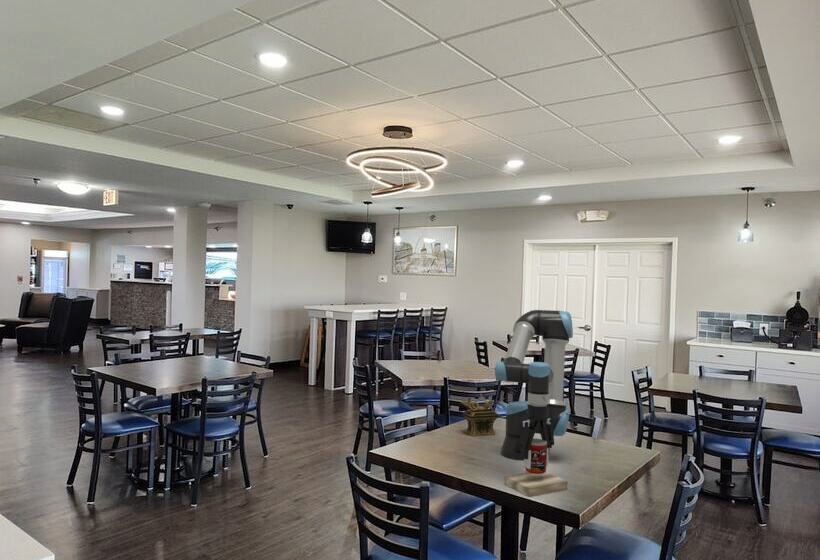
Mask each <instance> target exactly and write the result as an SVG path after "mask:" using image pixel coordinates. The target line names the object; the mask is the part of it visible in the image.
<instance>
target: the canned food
mask: <svg viewBox="0 0 820 560" xmlns="http://www.w3.org/2000/svg"><path fill="white" fill-rule="evenodd" d="M526 447H527V446H526ZM529 450H530V451H531V469H528V468H526V467H524V468H525V471H526V472H529V473H533V474H543V473H545V472H547V466H546V461H547V441H545V440H542V438H537V437H536V438H534V437H533V440H532V443H531V446H530V449H529Z"/></svg>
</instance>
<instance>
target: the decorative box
mask: <svg viewBox="0 0 820 560" xmlns="http://www.w3.org/2000/svg"><path fill="white" fill-rule="evenodd" d="M482 394H483V393H480V394H479V395H480V398H481V399H482V400H483V402H484V405H483V406H480V405H479V403H478V402H477V401H471V397H470V396H468V399H467V400H464V401H463V400H461V401H460V402H459V403H461V404H463V405H464V406H465V407H468V408H470V409H466V410H465V411H463V412H462V416H463V417H464V418H465V420H466V421H467V428H466V430H465V433H466V434H468V435H470V436H472V437H481V436H494V435H496V431H495V430H494V423H495V421H496V420H497V419H498V418H499V417H500V414H499V412H496V410H494V408H493V406H492V403H493V399H492V398H489V400H488V401H487V400H486V399H485V398H484V397H483V396H482Z"/></svg>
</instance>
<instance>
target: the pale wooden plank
mask: <svg viewBox="0 0 820 560" xmlns="http://www.w3.org/2000/svg"><path fill="white" fill-rule="evenodd" d="M503 480H504V481H503V484H504V485H505V486H507V487H510V489H513V490H514V491H517V492H519V493H522V494H523V495H525V496H527V497H529V498H532V497H537V496H541V495H547V494H552V493H556V492H561V491H565V490H568V480H565V479H563V478H562V477H558V476H556V475H553V474H552V473H549V472H547V471H546V472H545V473H543V474H533V473H529V472H527V471H526V472H521V473H515V474H510V475H504V479H503Z"/></svg>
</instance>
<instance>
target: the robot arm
mask: <svg viewBox="0 0 820 560" xmlns="http://www.w3.org/2000/svg"><path fill="white" fill-rule="evenodd" d="M573 330H574V328H573V320H572V314H571V313H570V312H568V311H566V310H565V311H563V310H550V309H549V310H545V309H533V310H529V311H528V312H525V313H524V314H522V315H521V316H520V317H519V318H518V319H517V320H516V321H515V323H514V326H513V328H512V332H513V334H512V337H511V340H510V343H509V346H508V348H507V352H506V355H505V357H504V360H503V361H498V362H496V364H495V368H494V377H495V379H496V380H497V381H501V382H505V383H506V382H508V383H509V382H510V383H520V384H528V386H527V387H528V391H527V400H520V401H513V402H510V403H508V404H507V405H506V413H505V416H506V417H505V436H504V441H503V443H502V446H501V449H500V455H502V456H503V457H504V458H508V459H513V460H518V461H519V460H520V461H523V467H524V468H525V467H526V468H528V469H531V451H530V450H529V449H530V446H531V443H532V440H533V438H534V437H535V434H538V435H540V437H541V439H542V440H545V441H547V461H546V467H548V466H549V457H550V451H551V449H552V448H553V446H554V445H555V437H563V436H565V434H566V433H567V428H568V426H569V425H568V424H569V419H570V409H568V408H567V404H566V403H565V401H564V383H565V381H564V380H565V362H566V361H565V359H566V358H565V356H566V346H567V345H568V344H569V342H570V339H572V338H574V331H573ZM535 336H536V337H537V336H539V337H542V339H541V340H542V342H543V343H544V344H545V345H544V346H545V347H544V362H543V361H532V362H530V363H524V362H525V357H526V355H527V352H528V348H529V345H530V342H531V339H533V338H534V337H535ZM526 446H527V447H526Z"/></svg>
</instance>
